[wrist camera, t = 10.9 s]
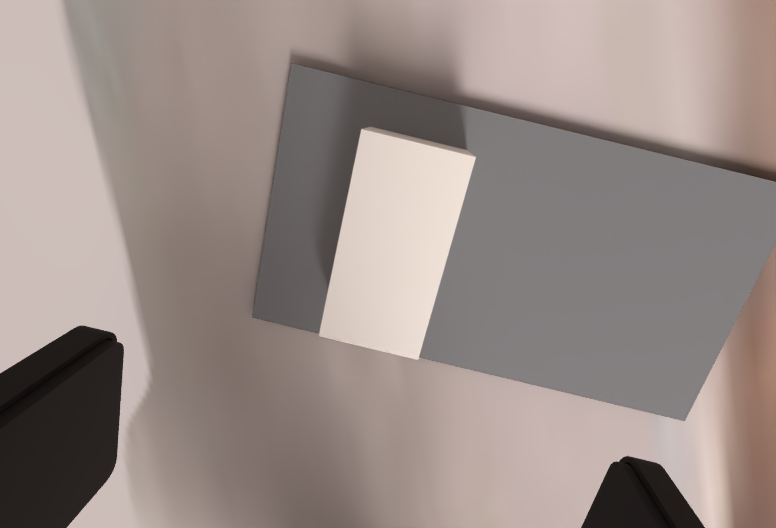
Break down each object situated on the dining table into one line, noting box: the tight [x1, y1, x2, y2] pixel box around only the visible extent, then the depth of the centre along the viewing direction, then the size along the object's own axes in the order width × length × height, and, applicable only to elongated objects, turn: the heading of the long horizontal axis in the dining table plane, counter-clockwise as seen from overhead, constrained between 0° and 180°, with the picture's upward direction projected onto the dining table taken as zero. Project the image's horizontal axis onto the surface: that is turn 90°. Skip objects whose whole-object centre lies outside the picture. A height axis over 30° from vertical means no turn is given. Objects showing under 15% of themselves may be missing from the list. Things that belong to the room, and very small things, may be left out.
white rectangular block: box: [319, 127, 476, 360], centre depth 23 cm, size 5×10×4 cm, turn 167°
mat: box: [252, 63, 776, 421], centre depth 26 cm, size 14×26×1 cm, turn 77°
